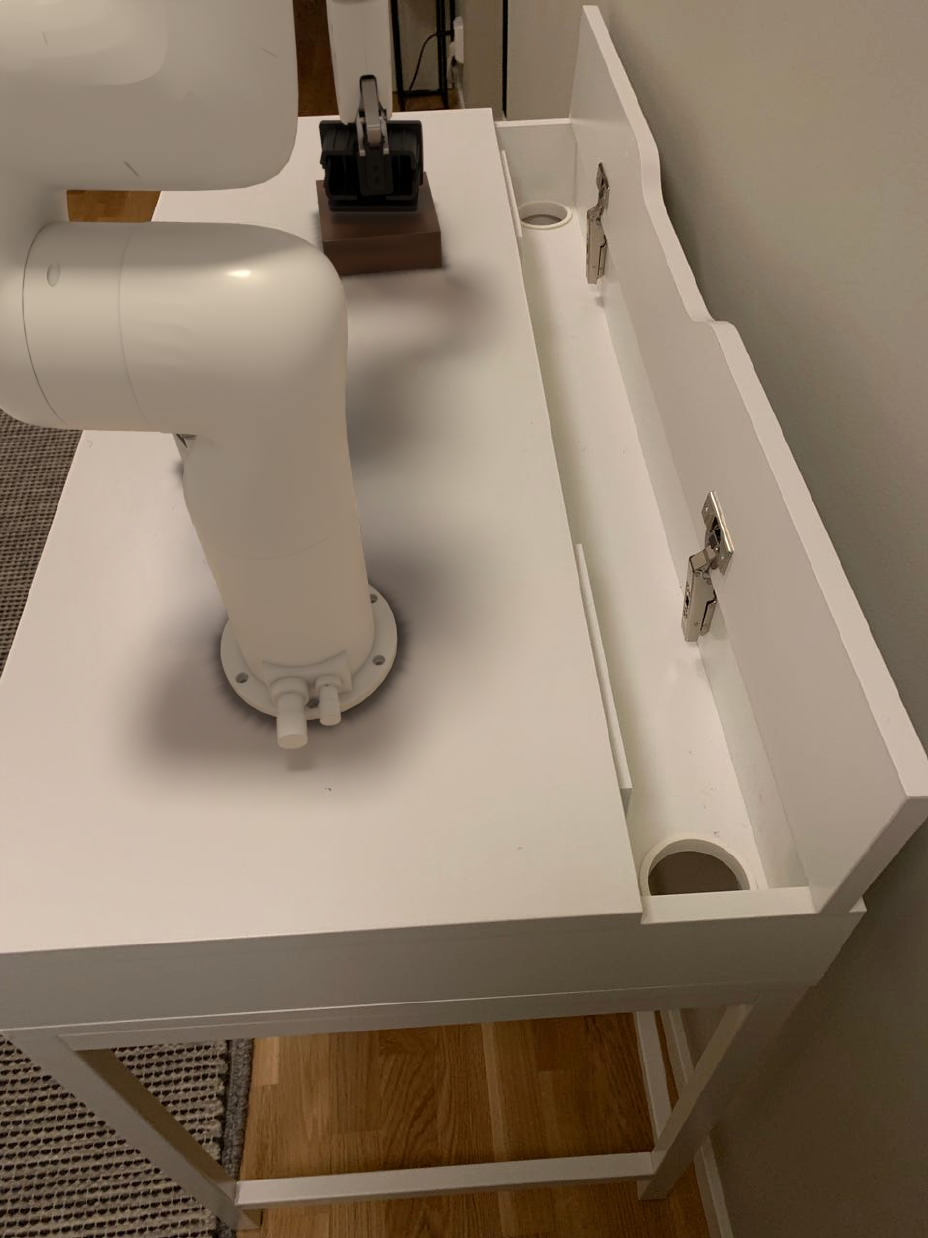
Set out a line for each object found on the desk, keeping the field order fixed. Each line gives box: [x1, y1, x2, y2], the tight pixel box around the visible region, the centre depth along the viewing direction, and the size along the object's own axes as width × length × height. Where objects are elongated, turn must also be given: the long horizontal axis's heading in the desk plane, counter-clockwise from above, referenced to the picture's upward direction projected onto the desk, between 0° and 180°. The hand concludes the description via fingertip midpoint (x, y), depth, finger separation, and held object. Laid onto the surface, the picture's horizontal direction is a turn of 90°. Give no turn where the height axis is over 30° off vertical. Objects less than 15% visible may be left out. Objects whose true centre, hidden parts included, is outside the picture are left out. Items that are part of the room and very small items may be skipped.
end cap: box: [318, 119, 425, 212], centre depth 88 cm, size 10×7×7 cm
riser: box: [315, 171, 443, 277], centre depth 93 cm, size 12×12×4 cm
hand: (373, 170), depth 89 cm, fingers closed on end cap, 7 cm apart
